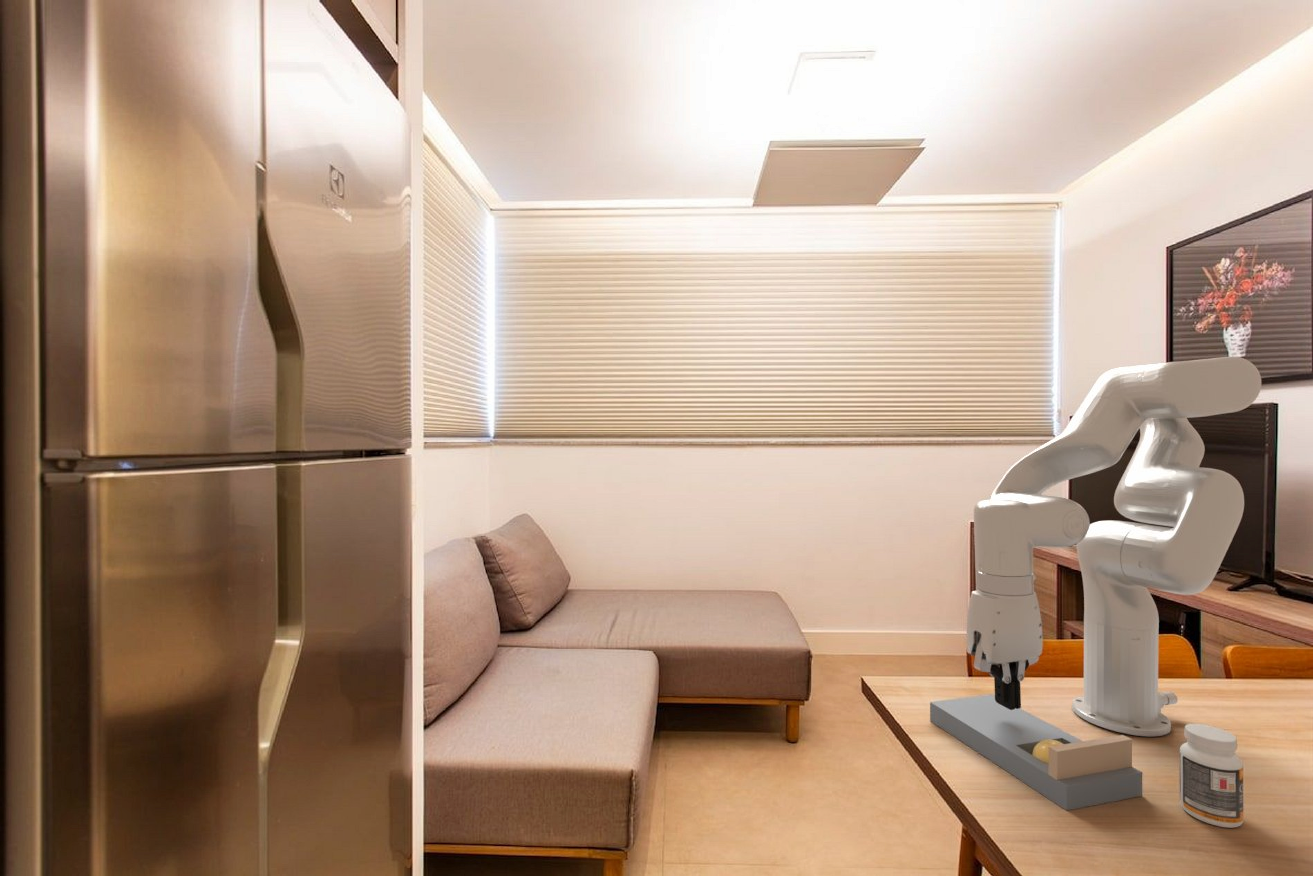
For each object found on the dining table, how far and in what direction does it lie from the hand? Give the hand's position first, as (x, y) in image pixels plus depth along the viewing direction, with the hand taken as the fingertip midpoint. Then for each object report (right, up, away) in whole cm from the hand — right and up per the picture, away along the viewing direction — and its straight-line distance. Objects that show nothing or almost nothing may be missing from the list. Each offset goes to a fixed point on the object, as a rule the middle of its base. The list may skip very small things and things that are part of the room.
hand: (1007, 705), depth 91 cm
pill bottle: (+14, -6, -18) cm, 23 cm away
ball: (0, -3, -11) cm, 11 cm away
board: (0, -5, -4) cm, 7 cm away
